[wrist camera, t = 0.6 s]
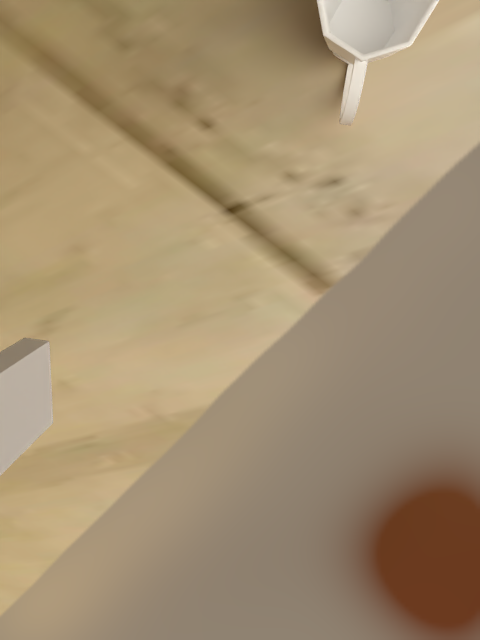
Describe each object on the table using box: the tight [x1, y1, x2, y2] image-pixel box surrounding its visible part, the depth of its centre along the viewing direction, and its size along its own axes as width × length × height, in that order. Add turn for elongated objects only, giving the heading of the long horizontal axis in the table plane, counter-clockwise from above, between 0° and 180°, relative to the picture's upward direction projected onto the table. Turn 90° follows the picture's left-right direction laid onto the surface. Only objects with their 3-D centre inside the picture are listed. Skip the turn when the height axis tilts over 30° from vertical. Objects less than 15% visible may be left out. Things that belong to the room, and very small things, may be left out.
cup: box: [317, 0, 439, 126], centre depth 29 cm, size 7×10×8 cm
